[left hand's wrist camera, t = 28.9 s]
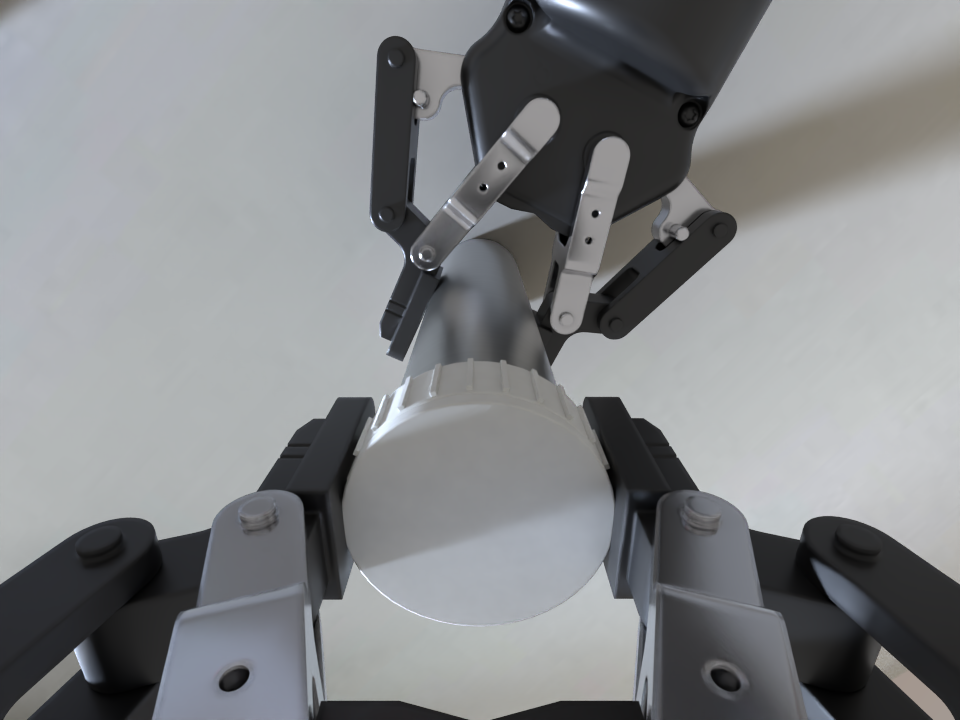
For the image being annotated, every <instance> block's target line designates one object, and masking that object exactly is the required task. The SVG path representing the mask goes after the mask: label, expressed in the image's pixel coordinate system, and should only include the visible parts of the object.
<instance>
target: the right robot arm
mask: <svg viewBox="0 0 960 720" xmlns="http://www.w3.org/2000/svg"><path fill="white" fill-rule="evenodd" d="M771 2H772V0H506V1H505V3H504V6H503V8H502V10H501V13H500V15H499V17H498V19H497V21H496V22H495V24H494V25H493V26H492V28H491V29H490V30H489V31H488V32H487V33H486V34H485V35H484V36H483V37H482V38H480V39H479V40H478V41H477V42H475V43H474V44H473V45H472V46H471V47H470V49H469V50H468V51H467V53H466V55H465V56H464V55H457V54H450V53H443V52H437V51H430V50H423V49H416V48H413V47H412V45H411V44H410V43H409V42H408V41H407V40H406V39H404V38H402V37H399V36H392V37H389V38H387V39H385V40H384V41H383V42H382V43H381V45H380V47H379V49H378V53H377V71H376V91H375V112H374V133H373V154H372V174H371V195H370V219H371V221H372V223H373V225H374V226H375V227H376V228H377V229H379V230H381V231H383V232H386V233H387V234H388V235H389V236H390V237H391V238H392V239H393V240H394V241H395V242H396V243H397V244H398V245H399V246H400V247H401V249H402V251H403V254H404V259H405V262H404V267H403V270H402V272H401V274H400V277H399V279H398V281H397V284H396V286H395V288H394V291H393V293H392V295H391V298H390V300H389V302H388V305H387V307H386V310H385V312H384V314H383V317H382V319H381V321H380V337H383V338H385V339H387V340H390V341H392V342H391V345H390V347H389V349H388V351H387V354H386V355H388V356H391V357H393V358H395V359H398V360H400V361H403V359H404V357H405V355H406V353H407V351H408V348H409V346H410V344H411V342H412V340H413V338H414V335H415V333H416V331H417V329H418V327H419V324H420V322H421V320H422V318H423V316H424V313H425V311H426V309H427V306H428V304H429V301H430V299H431V297H432V295H433V294H434V291H435V289H436V287H437V285H438V283H439V280H440V277H441V274H442V271H443V267H441V266H440V265H441V264H442V262H443V261H444V260H445V259H446V258H447V257H448V255H449V254H450V253H451V252H452V251H453V249H454V248H455V247H456V246H457V245H458V244H459V242H460V241H461V240H462V239H463V238H464V236H465V235H466V234H467V233H468V232H469V231H470V230H471V229H472V228H473V227H474V226H475V225H476V224H477V223H478V222H479V221H480V219H481V218H482V217H483V216H484V215H485V214H486V212H487V211H488V210H489V209H490V208H491V206H492V205H493V204H494V203H495V202H496V201H497V202H499V203H501V204H503V205H505V206H507V207H509V208H511V209H515V210H520V211H525V212H530V213H534V214H536V215H537V216H538V217H539V218H540V219H541V220H542V221H543V222H545V223H546V224H547V225H548V226H549V227H550V228H551V229H553V230H555V231H556V235H555V239H554V244H553V249H552V262H551V266H550V271H549V275H548V280H547V284H546V289H545V293H544V298H543V302H542V304H541V306H540V308H539V310H538V312H537V311H534V310H532V312H533V315H534V318H535V321H536V324H537V327H538V330H539V333H540V336H541V339H542V342H543V345H544V348H545V351H546V354H547V357H548V360H549V363H550V366H551V365H552V364H553V362H554V360H555V358H556V356H557V355H558V353H559V351H560V349H561V348H562V346H563V344H564V343H565V341H566V340H567V339H568V338H569V337H570V336H572V335H573V334H576V333H579V332H590V333H602V334H603V335H604V336H605V337H607V338H609V339H620V338H622V337H624V336H626V335H627V334H628V333H629V332H630V331H631V330H632V329H633V328H635V327H636V326H637V325H638V324H639V323H640V322H641V321H642V320H644V319H645V318H646V317H647V316H648V315H649V314H650V313H651V312H652V311H654V310H655V309H656V308H657V307H658V306H659V305H660V304H661V303H662V302H664V301H665V300H666V299H667V298H668V297H669V296H670V295H671V294H673V293H674V292H675V291H676V290H677V289H678V288H679V287H680V286H681V285H683V284H684V283H685V282H686V281H687V280H688V279H689V278H690V277H691V276H693V275H694V274H695V273H696V272H697V271H698V270H699V269H700V268H702V267H703V266H704V265H705V264H706V263H707V262H708V261H709V260H710V259H712V258H713V257H714V256H715V255H716V254H717V253H718V252H719V251H720V250H722V249H723V248H724V247H725V246H726V245H727V244H728V243H729V242H730V241H731V240H732V239H733V238H734V236H735V234H736V230H737V224H736V221H735V219H734V217H733V216H731V215H730V214H728V213H725V212H722V211H720V210H716V209H714V208H713V207H712V206H711V204H710V203H709V202H708V201H707V200H706V199H705V197H704V196H703V195H702V194H701V193H700V192H699V190H698V189H697V188H696V187H695V186H694V185H693V183H692V182H691V181H690V180H689V179H688V178H687V176H686V175H687V173H688V171H689V168H690V163H691V150H692V144H693V140H694V136H695V133H696V131H697V128H698V126H699V124H700V123H701V121H702V120H703V118H704V117H705V115H706V113H707V112H708V110H709V109H710V107H711V105H712V104H713V102H714V100H715V99H716V97H717V95H718V93H719V92H720V90H721V88H722V86H723V85H724V83H725V81H726V79H727V78H728V76H729V74H730V72H731V71H732V69H733V67H734V66H735V64H736V62H737V60H738V59H739V57H740V55H741V53H742V52H743V50H744V48H745V46H746V45H747V43H748V41H749V40H750V38H751V36H752V34H753V33H754V31H755V29H756V27H757V26H758V24H759V22H760V20H761V19H762V17H763V15H764V14H765V12H766V10H767V8H768V7H769V5H770V3H771ZM456 89H462V93H463V99H464V105H465V110H466V116H467V122H468V127H469V133H470V139H471V144H472V150H473V156H474V161H475V167H474V168H473V169H472V170H471V172H470V173H469V174H468V175H467V177H466V178H465V179H464V180H463V181H462V183H461V184H460V185H459V186H458V188H457V189H456V190H455V191H454V193H453V194H452V195H451V196H450V198H449V199H448V200H447V201H446V203H445V204H444V205H443V206H442V208H441V209H440V210H439V211H438V212H437V214H436V215H435V216H434V217H433V219H432V220H431V221H429V220H428V219H427V218H426V217H425V216H424V215H423V214H422V213H421V212H420V211H419V210H418V209H417V208H416V207H415V206H414V205H413V199H414V186H415V173H416V160H417V147H418V134H419V121H420V120H422V121H428V120H431V119H433V118H435V117H436V116H437V115H438V113H439V112H440V109H441V105H442V102H443V99H444V98H445V96H446V95H447V94H448V93H449V92H451V91H453V90H456ZM660 198H661V201H662V208H661V211H660V213H659V215H658V216H657V218H656V219H655V220H654V222H653V224H652V229H651V231H652V236H653V238H654V239H653V240H652V241H651V242H650V243H649V244H648V245H647V246H646V247H645V248H644V249H642V250H641V251H640V252H639V253H638V254H637V255H636V256H635V257H634V258H633V259H632V260H631V261H630V262H629V263H628V264H627V265H626V266H624V267H623V268H622V269H621V270H620V271H619V272H618V273H617V274H616V275H615V276H614V277H613V278H612V279H611V280H610V281H609V282H607V283H606V284H605V285H604V286H603V287H602V288H601V289H600V290H599V291H598V292H597V293H596V294H593V293H589V292H590V288H591V284H592V281H593V278H594V277H595V276H596V275H597V273H598V271H599V268H600V264H601V260H602V256H603V252H604V249H605V245H606V241H607V237H608V233H609V229H610V225H611V224H613V223H615V222H617V221H619V220H621V219H623V218H624V217H626V216H628V215H630V214H632V213H634V212H636V211H638V210H639V209H641V208H643V207H645V206H647V205H649V204H651V203H653V202H654V201H656V200H658V199H660ZM588 237H589V238H590V239H589V241H588Z"/></svg>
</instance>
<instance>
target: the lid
mask: <svg viewBox="0 0 960 720" xmlns="http://www.w3.org/2000/svg"><path fill="white" fill-rule="evenodd" d="M353 455H355V456H356V457H355V459H354V462H353V464H352V467H351V469H350V472H349V474H348V477H347V483H346V485H345V489H344V493H343V498H342V511H343V521H344V529H345V537H346V544H347V547H348V549H349V552H350V554H351V556H352V558H353V560H354V562H355V563H356V565H357V567H358V568H359V570H360V571H361V572H362V574H363V575H364V576H365V577H366V579H367V580H368V581H369V582H370V583H371V584H372V585H373V586H374V587H375V588H376V589H377V590H378V591H379V592H380V593H382V594H383V595H384V596H386V597H387V598H389V599H390V600H391V601H393V602H394V603H396V604H398V605H399V606H401V607H403V608H405V609H406V610H409V611H411V612H413V613H415V614H418V615H420V616H423V617H426V618H429V619H432V620H435V621H439V622H444V623H449V624H455V625H464V626H493V625H503V624H508V623H513V622H518V621H522V620H525V619H528V618H532V617H535V616H537V615H539V614H542V613H544V612H547V611H549V610H551V609H552V608H554V607H556V606H558V605H560V604H562V603H563V602H564V601H566V600H567V599H569V598H570V597H572V596H573V595H574V594H576V593H577V592H578V591H579V590H580V589H581V588H582V587H583V586H584V585H586V583H587V582H588V581H589V580H590V579H591V578H592V576H593V575H594V574H595V573H596V571H597V570H598V568H599V567H600V565H601V564H602V562H603V561H604V558H605V556H606V554H607V552H608V550H609V548H610V543H611V535H612V527H613V518H614V508H615V498H614V493H613V488H612V485H611V483H610V480H609V477H608V474H607V472H606V470H607V469H610V466H609V464H608V461H607V459H606V456H605V454H604V451H603V449H602V447H601V444H600V442H599V439H598V437H597V434H596V432H595V430H592V429H591V427H590V424H589V422H588V419H587V417H586V414H585V412H584V409H583V407H582V406H581V405H579V406H578V407H577V406H576V405H575V404H574V402H573V401H572V400H571V399H570V398H569V397H568V396H567V395H566V393H565V391H564V388H563V386H561V385H560V384H559V385H558V386H557V387H556V386H555V385H554V384H552V383H551V382H550V381H548V380H546V379H544V378H543V377H541V376H539V375H538V373H537V370H535V369H532V370H531V371H528V370H525V369H523V368H520V367H516V366H512V365H509V364H507V363H506V360H500V363H497V362H490V361H473V358H468V359H467V362H460V363H453V364H449V365H445V366H442V365H441V363H439V364H436V365H435V369H432V370H429V371H427V372H424V373H422V374H420V375H418V376H417V377H415V378H413V377H412V376H409V377H408V378H406V381H405V384H404V385H402V386H401V387H399V388H398V389H397V390H396V391H395V392H394V393H393V394H392V395H390V396H389V395H387V394H386V395H385V396H384V397H383V399H382V402H381V404H380V407H379V409H378V411H377V412H376V414H375V416H374V417H373V418H371V417H369V418H368V420H367V422H366V424H365V426H364V429H363V431H362V434H361V436H360V438H359V441H358V443H357V446H356V448H355V450H354V453H353Z"/></svg>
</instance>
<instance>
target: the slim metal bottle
mask: <svg viewBox="0 0 960 720" xmlns="http://www.w3.org/2000/svg"><path fill="white" fill-rule="evenodd" d="M441 267H443V271H442V274H441V277H440V280H439V283H438V285H437V287H436V289H435V291H434V294H433V295H432V297H431V299H430V301H429V304H428V306H427V309H426V312H425V315H424V318H423V321H422V324H421V327H420V330H419V333H418V336H417V339H416V342H415V345H414V348H413V351H412V354H411V357H410V360H409V363H408V366H407V369H406V372H405V375H404V378H403V381H402V384H401V386H402V385H404V384H405V381H406V378H408V377H409V376H412V377H413V378H415V377H417V376H418V375H420V374H422V373H424V372H427V371H429V370H432V369H435V365H436V364H439V363H441V365H442V366H445V365H449V364H453V363H460V362H467V359H468V358H473V361H490V362H497V363H500V360H506V363H507V364H509V365H512V366H516V367H520V368H523V369H525V370H528V371H531V370H532V369H535V370H537V373H538V375H539V376H541V377H543V378H544V379H546V380H548V381H550V382H551V383H552V384H554V385H555V386H556V387H557V385H556V382H555V379H554V376H553V372H552V369H551V366H550V363H549V360H548V357H547V354H546V351H545V348H544V345H543V342H542V339H541V336H540V333H539V330H538V327H537V324H536V321H535V318H534V315H533V312H532V309H531V306H530V303H529V300H528V297H527V293H526V290H525V287H524V284H523V281H522V278H521V275H520V272H519V269H518V266H517V264H516V261H515V259H514V258H513V256H512V255H511V253H510V252H509V251H508V250H507V249H506V248H505V247H503V246H502V245H500V244H498V243H497V242H494V241H492V240H488V239H470V240H467V241H464V242H462V243H460V244H458V245H457V246H456V247H455V248H454V249H453V251H452V252H451V253H450V254H449V255H448V257H447V258H446V259H445V260H444V261H443V262H442V265H441Z"/></svg>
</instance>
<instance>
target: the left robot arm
mask: <svg viewBox="0 0 960 720" xmlns="http://www.w3.org/2000/svg"><path fill="white" fill-rule="evenodd" d="M583 409H584V412H585V414H586V417H587V419H588V422H589V424H590V427H591V429H592V430H595V432H596V434H597V437H598V439H599V442H600V444H601V447H602V449H603V451H604V454H605V456H606V459H607V461H608V464H609V466H610V469H607V470H606V472H607V474H608V477H609V480H610V483H611V485H612V488H613V493H614V498H615V508H614V518H613V527H612V535H611V543H610V548H609V550H608V552H607V554H606V556H605V558H604V561H603V562H604V566H605V569H606V572H607V576H608V579H609V582H610V586H611V589H612V592H613V596H614V599H634V601H635V604H636V607H637V610H638V613H639V616H640V620H639V626H638V637H637V650H636V663H635V677H634V690H633V701H559V702H555V703H551V704H548V705H544V706H540V707H537V708H533V709H529V710H526V711H522V712H518V713H515V714H511V715H507V716H503V717H500V718H496V719H492V720H933V719H932V718H931V717H930V716H928V715H927V714H926V713H925V712H924V711H923V710H922V709H921V708H920V707H919V706H918V705H917V704H916V703H915V702H914V701H913V700H912V699H910V698H909V697H908V696H907V695H906V694H905V693H904V692H903V691H902V690H901V689H900V688H899V687H898V686H897V685H896V684H895V683H893V682H892V681H891V680H890V679H889V678H888V677H887V676H886V675H885V674H884V673H883V672H882V671H881V670H880V669H879V668H878V667H877V666H876V665H874V664H875V662H876V659H877V656H878V654H879V651H880V649H881V646H883V647H884V648H885V649H886V650H887V651H888V652H889V653H890V654H892V655H893V656H894V657H895V658H896V659H897V660H898V661H899V662H900V663H902V664H903V665H904V666H905V667H906V668H907V669H908V670H909V671H910V672H912V673H913V674H914V675H915V676H916V677H917V678H918V679H919V680H921V681H922V682H923V683H924V684H925V685H926V686H927V687H928V688H929V689H930V690H932V691H933V692H934V693H935V694H936V695H937V696H938V697H939V698H940V699H941V700H942V701H943V702H944V703H945V705H946V706H947V707H948V709H949V710H950V711H951V713H952V715H953V717H954V718H955V720H960V584H958V583H957V582H955V581H954V580H952V579H951V578H949V577H948V576H947V575H945V574H944V573H942V572H941V571H939V570H938V569H936V568H935V567H933V566H932V565H931V564H929V563H928V562H926V561H925V560H923V559H922V558H920V557H919V556H918V555H916V554H915V553H913V552H912V551H910V550H909V549H907V548H906V547H905V546H903V545H902V544H900V543H899V542H897V541H896V540H894V539H893V538H891V537H890V536H888V535H887V534H885V533H883V532H881V531H880V530H878V529H876V528H874V527H871V526H869V525H867V524H864V523H861V522H858V521H855V520H851V519H847V518H842V517H834V516H822V517H816V518H813V519H811V520H809V521H808V522H807V523H806V524H805V525H804V528H803V531H802V534H801V538H800V540H797V539H792V538H787V537H782V536H777V535H773V534H768V533H763V532H759V531H755V530H751V529H749V528H748V523H747V521H746V518H745V517H744V515H743V514H742V513H741V512H740V511H739V510H738V509H737V508H736V507H735V506H734V505H732V504H731V503H729V502H728V501H726V500H724V499H722V498H720V497H717V496H715V495H712V494H709V493H706V492H701V491H699V489H698V488H697V486H696V485H695V483H694V482H693V480H692V479H691V477H690V475H689V474H688V472H687V471H686V469H685V468H684V466H683V465H682V463H681V461H680V460H679V458H676V454H675V452H674V451H673V449H672V447H671V446H669V443H668V441H667V440H666V438H665V436H664V435H663V433H662V432H661V430H660V429H658V428H657V427H655V426H654V425H652V424H651V423H649V422H648V421H647V420H645V419H644V418H631V417H630V415H629V413H628V412H627V410H626V408H625V406H624V404H623V403H622V401H621V399H620V398H619V397H585V399H584V402H583ZM374 416H375V406H374V401H373V399H372V398H371V397H339V398H337V400H336V401H335V403H334V405H333V407H332V408H331V410H330V412H329V414H328V415H327V417H326V419H313V420H311V421H310V422H308V423H307V424H305V425H304V426H302V427H301V428H299V429H298V430H297V431H296V432H295V434H294V435H293V437H292V438H291V440H290V441H289V443H288V447H286V448H285V449H284V451H283V452H282V454H281V455H280V458H278V460H277V461H276V463H275V464H274V466H273V467H272V469H271V471H270V472H269V474H268V475H267V477H266V478H265V480H264V481H263V483H262V484H261V486H260V487H259V489H258V490H257V492H254V493H251V494H248V495H245V496H243V497H240V498H238V499H236V500H234V501H232V502H231V503H229V504H228V505H226V506H225V507H224V508H223V509H222V510H221V511H220V512H219V513H218V514H217V515H216V517H215V519H214V521H213V524H212V528H210V529H207V530H204V531H200V532H196V533H192V534H187V535H182V536H177V537H173V538H168V539H163V540H158V539H157V536H156V532H155V529H154V527H153V525H152V524H151V523H150V522H148V521H146V520H143V519H140V518H119V519H113V520H109V521H105V522H101V523H98V524H95V525H93V526H90V527H88V528H86V529H83V530H81V531H79V532H77V533H75V534H74V535H72V536H70V537H69V538H67V539H66V540H64V541H63V542H61V543H60V544H58V545H57V546H55V547H54V548H53V549H51V550H50V551H48V552H47V553H45V554H44V555H42V556H41V557H40V558H38V559H37V560H35V561H34V562H32V563H31V564H29V565H28V566H26V567H25V568H24V569H22V570H21V571H19V572H18V573H16V574H15V575H13V576H12V577H11V578H9V579H8V580H6V581H5V582H3V583H2V584H0V720H3V719H4V717H5V715H6V714H7V713H8V711H9V710H10V708H11V707H12V706H13V705H14V704H15V703H16V702H17V701H18V700H19V699H20V698H21V697H22V696H23V695H24V694H25V693H26V692H27V691H28V690H29V689H31V688H32V687H33V686H34V685H35V684H36V683H37V682H38V681H40V680H41V679H42V678H43V677H44V676H45V675H46V674H47V673H48V672H50V671H51V670H52V669H53V668H54V667H55V666H56V665H57V664H58V663H60V662H61V661H62V660H63V659H64V658H65V657H66V656H67V655H68V654H70V653H71V652H72V651H73V650H74V651H75V653H76V656H77V659H78V661H79V664H80V666H81V669H80V670H79V671H78V672H77V673H76V674H75V675H74V676H73V677H72V678H71V679H70V680H69V681H68V682H66V683H65V684H64V685H63V686H62V687H61V688H60V689H59V690H58V691H57V692H56V693H55V694H54V695H53V696H52V697H51V698H50V699H48V700H47V701H46V702H45V703H44V704H43V705H42V706H41V707H40V708H39V709H38V710H37V711H36V712H35V713H34V714H33V715H32V716H30V717H29V718H28V719H27V720H468V719H464V718H460V717H457V716H453V715H449V714H445V713H442V712H438V711H434V710H431V709H427V708H423V707H420V706H416V705H412V704H409V703H405V702H401V701H327V690H326V677H325V663H324V650H323V636H322V626H321V619H320V613H319V608H320V606H321V603H322V600H323V599H342V598H343V595H344V592H345V588H346V585H347V582H348V579H349V575H350V572H351V569H352V565H353V562H354V560H353V558H352V556H351V554H350V552H349V549H348V547H347V544H346V537H345V529H344V521H343V511H342V498H343V493H344V489H345V485H346V483H347V477H348V474H349V472H350V469H351V467H352V464H353V462H354V459H355V457H356V456H355V455H353V453H354V450H355V448H356V446H357V443H358V441H359V438H360V436H361V434H362V431H363V429H364V426H365V424H366V422H367V420H368V418H369V417H371V418H373V417H374Z"/></svg>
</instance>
